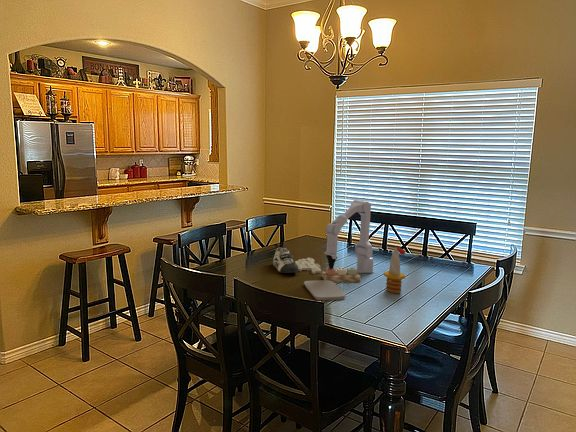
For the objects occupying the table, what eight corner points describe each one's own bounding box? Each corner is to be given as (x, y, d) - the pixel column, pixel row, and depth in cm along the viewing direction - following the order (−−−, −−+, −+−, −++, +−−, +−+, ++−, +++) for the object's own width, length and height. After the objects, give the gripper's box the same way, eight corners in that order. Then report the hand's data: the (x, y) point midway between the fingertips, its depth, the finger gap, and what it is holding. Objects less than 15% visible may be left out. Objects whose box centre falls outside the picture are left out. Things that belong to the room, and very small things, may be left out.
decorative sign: (290, 258, 286) (312, 257, 289) (290, 261, 286) (312, 260, 289) (301, 271, 256) (325, 271, 259) (300, 275, 257) (325, 274, 260)
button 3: (333, 272, 251) (334, 267, 251) (335, 275, 247) (335, 269, 246) (326, 272, 251) (326, 267, 250) (327, 275, 246) (328, 269, 246)
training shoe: (284, 277, 250) (284, 255, 248) (267, 264, 277) (267, 244, 275) (301, 276, 254) (302, 254, 252) (283, 263, 281) (283, 243, 279)
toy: (411, 264, 215) (391, 245, 224) (390, 299, 227) (372, 279, 237) (422, 262, 220) (403, 243, 229) (401, 296, 233) (383, 277, 242)
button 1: (354, 272, 253) (354, 267, 252) (356, 275, 248) (356, 269, 248) (346, 272, 252) (346, 267, 252) (348, 275, 248) (348, 269, 247)
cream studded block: (343, 272, 252) (344, 267, 251) (345, 275, 248) (346, 269, 247) (336, 272, 251) (336, 267, 251) (338, 275, 247) (338, 269, 247)
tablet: (330, 283, 242) (331, 279, 242) (347, 300, 217) (347, 296, 217) (302, 285, 239) (302, 281, 238) (315, 302, 214) (316, 297, 213)
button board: (355, 276, 256) (355, 271, 256) (360, 281, 246) (360, 276, 246) (321, 276, 254) (322, 271, 253) (325, 281, 244) (325, 276, 244)
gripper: (322, 241, 253) (321, 264, 255) (327, 247, 239) (326, 271, 241) (334, 241, 254) (333, 264, 256) (340, 247, 239) (339, 271, 242)
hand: (331, 268), depth 248 cm, fingers closed
